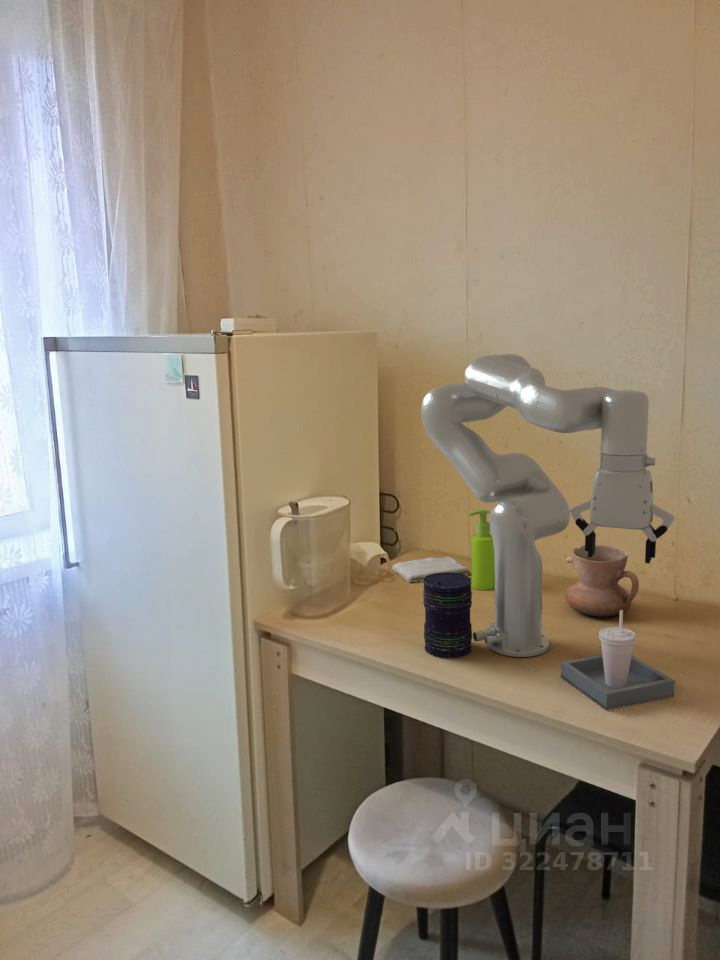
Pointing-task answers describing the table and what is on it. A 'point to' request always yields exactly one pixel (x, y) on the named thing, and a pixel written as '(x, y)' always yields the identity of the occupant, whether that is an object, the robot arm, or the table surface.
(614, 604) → the ceramic jug
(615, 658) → the smoothie
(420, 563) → the washcloth
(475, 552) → the soap dispenser
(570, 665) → the tray
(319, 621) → the table surface
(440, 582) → the storage jar
